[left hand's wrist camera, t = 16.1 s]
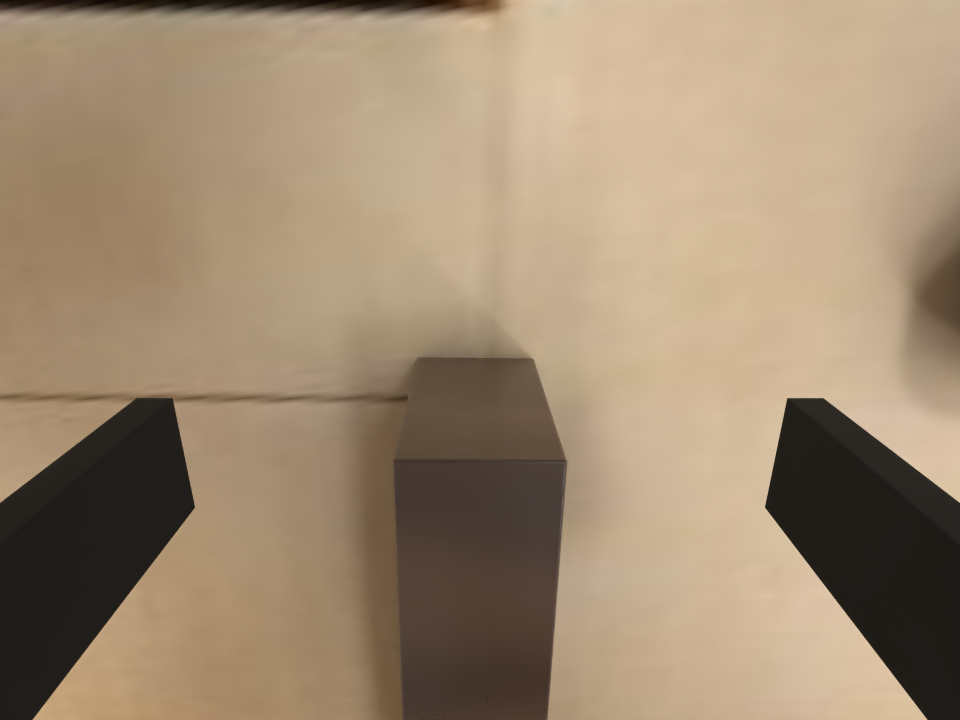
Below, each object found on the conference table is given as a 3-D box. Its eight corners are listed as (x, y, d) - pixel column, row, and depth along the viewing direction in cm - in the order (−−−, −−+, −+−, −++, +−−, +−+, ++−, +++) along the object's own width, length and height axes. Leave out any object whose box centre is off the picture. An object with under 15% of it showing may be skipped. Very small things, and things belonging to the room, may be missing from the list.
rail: (416, 357, 23) (392, 460, 15) (533, 358, 23) (567, 460, 15) (425, 819, 31) (412, 1032, 24) (510, 818, 31) (524, 1029, 24)
